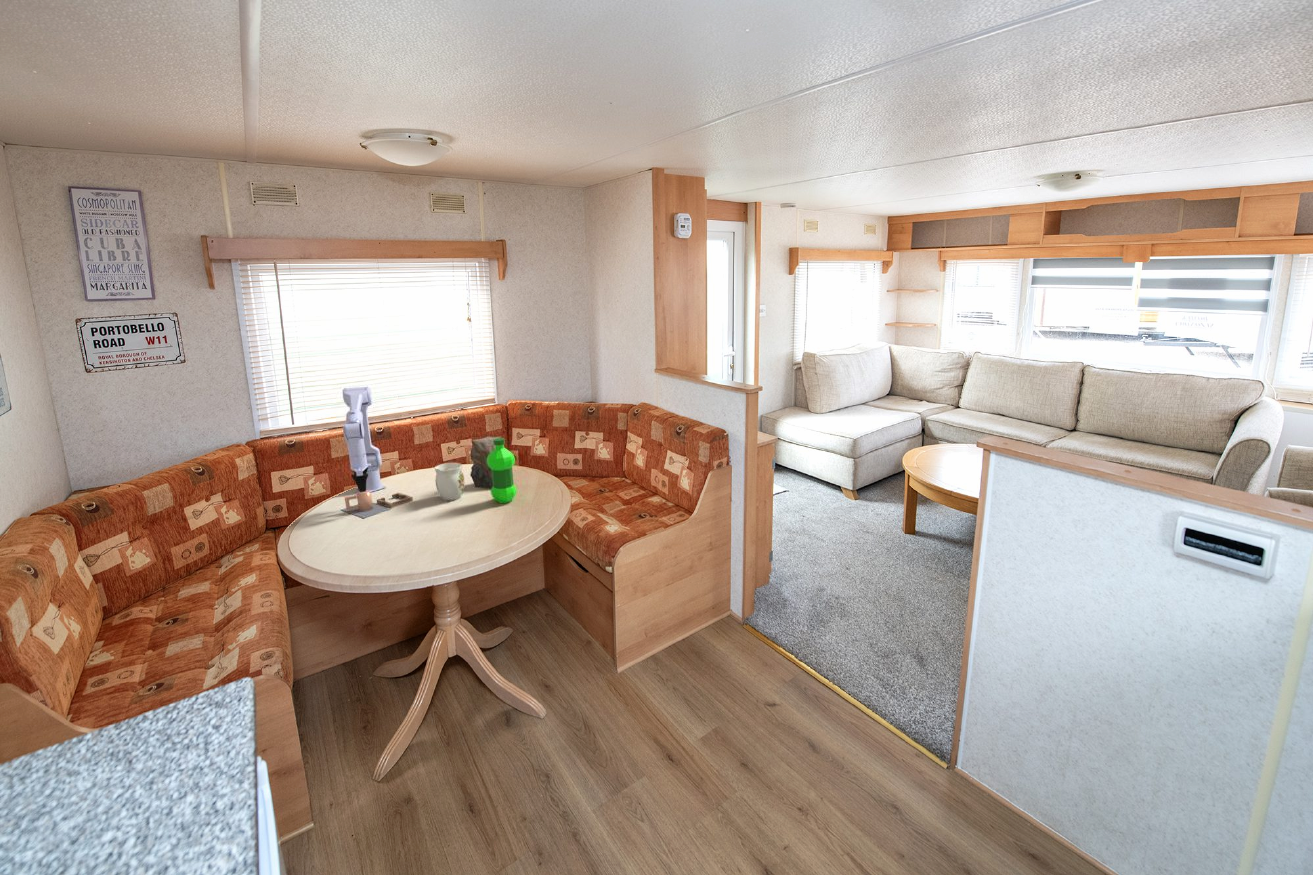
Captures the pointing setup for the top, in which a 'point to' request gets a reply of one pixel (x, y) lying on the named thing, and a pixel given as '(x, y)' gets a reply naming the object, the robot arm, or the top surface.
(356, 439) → the robot arm
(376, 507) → the mat
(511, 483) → the plastic bottle
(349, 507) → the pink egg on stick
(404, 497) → the holder
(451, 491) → the pitcher
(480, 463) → the owl
